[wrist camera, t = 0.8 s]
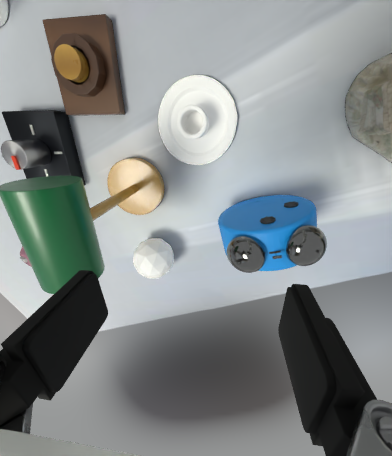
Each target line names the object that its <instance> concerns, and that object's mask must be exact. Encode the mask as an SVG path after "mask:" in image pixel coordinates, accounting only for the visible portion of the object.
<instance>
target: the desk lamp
mask: <svg viewBox="0 0 392 456" xmlns="http://www.w3.org/2000/svg"><path fill="white" fill-rule="evenodd" d="M108 189H109V192H110V195H111V197H110V198H108V199H106V200H104V201H103V202H101V203H99V204H97V205H95V206H94V207H92V208H90V207H89V203H88V200H87V196H86V192H85V188H84V184H83V180H82V178H81V177H77V176H46V177H37V178H29V179H23V180H18V181H13V182H9V183H6V184H3V185H1V186H0V197H1V199H2V201H3V204H4V206H5V208H6V210H7V213H8V215H9V217H10V219H11V221H12V224H13V226H14V228H15V230H16V232H17V235H18V237H19V239H20V241H21V244H22V246H23V248H24V250H25V252H26V255H27V257H28V259H29V261H30V264H31V266H32V268H33V270H34V272H35V275H36V277H37V279H38V281H39V283H40V286H41V288H42V289H43V290H44V291H45V292H47V293H51V294H55V293H56V292H57V291H58V290H59V289H60V288H61V287H62V286H63V285H64V284H66V283H67V282H68V281H69V280H70V279H71V278H72V277H73V276H74V275H75V274H76V273H77V272H78V271H80V270H88V271H93V272H94V273H95V274H96V275H97V278H99V277H100V276H101V274H102V273H103V271H104V262H103V258H102V254H101V251H100V247H99V243H98V239H97V235H96V231H95V227H94V223H93V221H94V220H95V219H97V218H98V217H100V216H101V215H103V214H104V213H106V212H107V211H109V210H110V209H112V208H113V207H115V206H116V205H118V206H119V207H120V208H122V209H123V210H125V211H126V212H128V213H131V214H136V215H143V214H147V213H150V212H152V211H153V210H154V209H155V208H156V207H157V206H158V205H159V204H160V203H161V201H162V199H163V196H164V182H163V179H162V176H161V175H160V173H159V171H158V170H157V169H156V168H155V167H154V166H153V165H152V164H151V163H149V162H148V161H146V160H143V159H140V158H128V159H124V160H121V161H119V162H117V163H116V164H115V165H114V166H113V167H112V168H111V170H110V172H109V175H108Z"/></svg>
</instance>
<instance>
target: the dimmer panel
mask: <svg viewBox="0 0 392 456" xmlns="http://www.w3.org/2000/svg"><path fill="white" fill-rule="evenodd" d="M2 114H3V117H4V120H5V122H6V125H7V128H8V130H9V133H10V136H11V138H12V140H40V141H42V142H43V143H44V144H46V146H47V147H48V148H49V150H50V153H51V161H50V163H49V164H47V165H43V166H37V167H32V168H26V169H23V170H24V173H25V175H26V178H27V179H29V178H37V177H46V176H77V177H81V178H82V180H83V184H84V185H85V181H84V177H83V174H82V170H81V166H80V162H79V158H78V154H77V150H76V146H75V142H74V138H73V134H72V130H71V126H70V122H69V118H68V115H67V114H66V112H61V111H54V110H48V111H8V112H2Z"/></svg>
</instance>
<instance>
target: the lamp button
mask: <svg viewBox="0 0 392 456" xmlns="http://www.w3.org/2000/svg"><path fill="white" fill-rule="evenodd" d="M54 61H55V65H56V68H57V70H58V71H59V73H60V74H61V75H62V76H63V77H65V78H66V79H69V80H72V81H75V82H78V83H81V82H84V81H85V80H86V79H87V78H88V75H89V65H88V61H87V59H86V57H85V56H84V55H83V54H82V53H81V52H80V51H79V50H77V49H75V48H73V47H71V46H70V45H67V44H62V45H59V46H58V47H57V48H56V50H55V54H54Z"/></svg>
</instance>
